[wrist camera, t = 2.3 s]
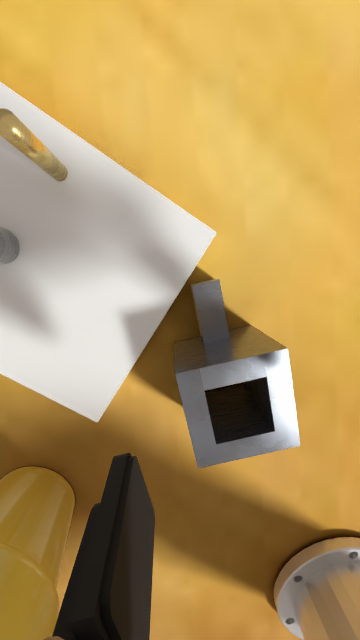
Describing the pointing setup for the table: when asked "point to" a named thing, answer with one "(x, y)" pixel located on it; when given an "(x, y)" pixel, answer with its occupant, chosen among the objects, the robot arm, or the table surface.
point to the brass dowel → (30, 145)
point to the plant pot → (32, 550)
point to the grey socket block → (235, 402)
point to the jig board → (84, 266)
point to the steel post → (8, 246)
